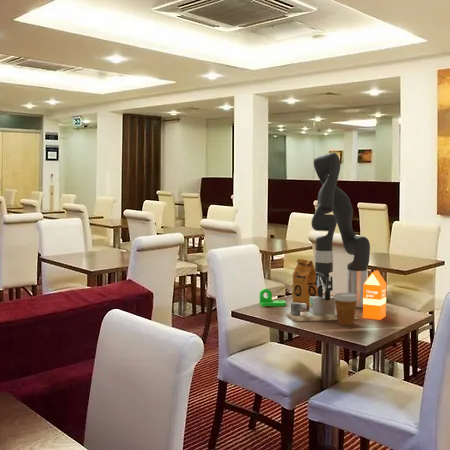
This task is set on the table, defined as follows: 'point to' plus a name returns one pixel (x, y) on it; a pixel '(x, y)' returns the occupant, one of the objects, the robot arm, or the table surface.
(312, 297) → the block
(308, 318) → the coupling stand
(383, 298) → the orange juice
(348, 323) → the disposable coffee cup
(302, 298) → the coffee package
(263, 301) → the mechanical part
